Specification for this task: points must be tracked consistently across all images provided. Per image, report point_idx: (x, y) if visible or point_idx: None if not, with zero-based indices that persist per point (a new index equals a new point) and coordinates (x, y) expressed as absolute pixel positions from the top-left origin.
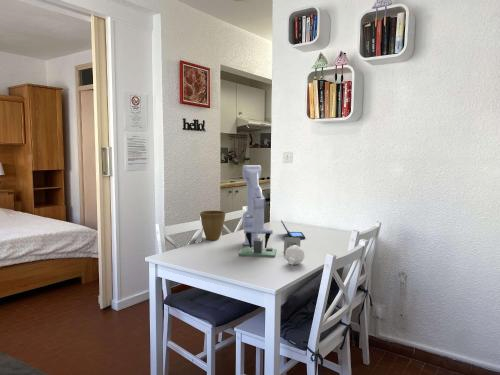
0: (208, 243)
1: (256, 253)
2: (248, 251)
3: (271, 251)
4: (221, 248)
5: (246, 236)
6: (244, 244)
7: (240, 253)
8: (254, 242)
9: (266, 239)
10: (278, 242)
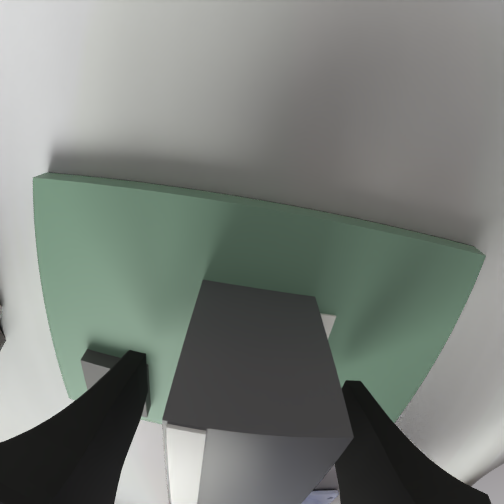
0: (492, 459)
1: (276, 261)
2: (367, 344)
3: (89, 334)
4: (492, 414)
5: (482, 494)
6: (333, 491)
7: (471, 262)
8: (329, 412)
9: (57, 442)
10: (119, 496)
